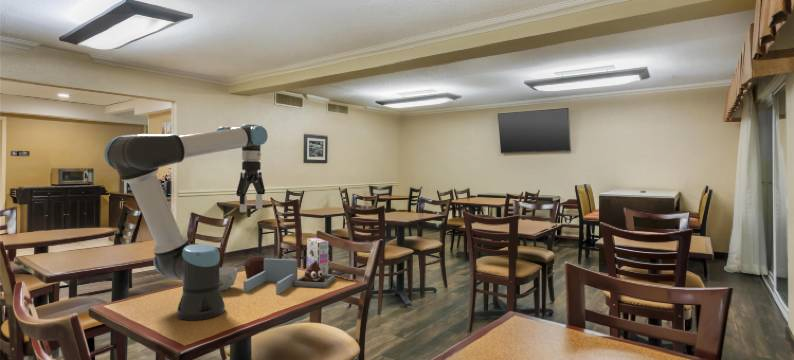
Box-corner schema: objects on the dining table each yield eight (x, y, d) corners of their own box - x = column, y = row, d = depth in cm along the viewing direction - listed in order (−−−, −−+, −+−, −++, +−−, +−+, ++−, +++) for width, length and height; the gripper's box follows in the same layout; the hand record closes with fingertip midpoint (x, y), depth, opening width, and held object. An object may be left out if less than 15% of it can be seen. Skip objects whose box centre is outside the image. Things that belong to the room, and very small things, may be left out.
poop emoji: (320, 278, 195) (320, 257, 195) (328, 282, 188) (328, 261, 188) (299, 281, 189) (299, 260, 189) (306, 285, 182) (306, 264, 182)
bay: (278, 294, 171) (278, 269, 171) (243, 292, 174) (243, 267, 173) (297, 281, 190) (297, 259, 190) (265, 280, 192) (265, 258, 192)
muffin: (274, 276, 199) (274, 255, 199) (255, 281, 190) (255, 259, 189) (257, 273, 205) (257, 252, 205) (238, 278, 196) (238, 256, 195)
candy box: (329, 275, 202) (329, 241, 202) (317, 277, 199) (317, 242, 198) (317, 269, 213) (317, 237, 213) (306, 271, 210) (306, 238, 210)
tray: (324, 288, 180) (324, 283, 180) (293, 286, 183) (293, 281, 183) (335, 279, 194) (335, 275, 194) (306, 278, 197) (306, 273, 196)
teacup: (199, 289, 176) (199, 270, 176) (226, 283, 187) (226, 265, 186) (219, 296, 168) (219, 276, 168) (247, 289, 178) (247, 270, 178)
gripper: (244, 160, 168) (244, 213, 169) (272, 161, 193) (272, 208, 194) (227, 160, 170) (227, 213, 170) (257, 161, 194) (257, 207, 195)
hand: (251, 210), depth 182 cm, fingers open, 13 cm apart
